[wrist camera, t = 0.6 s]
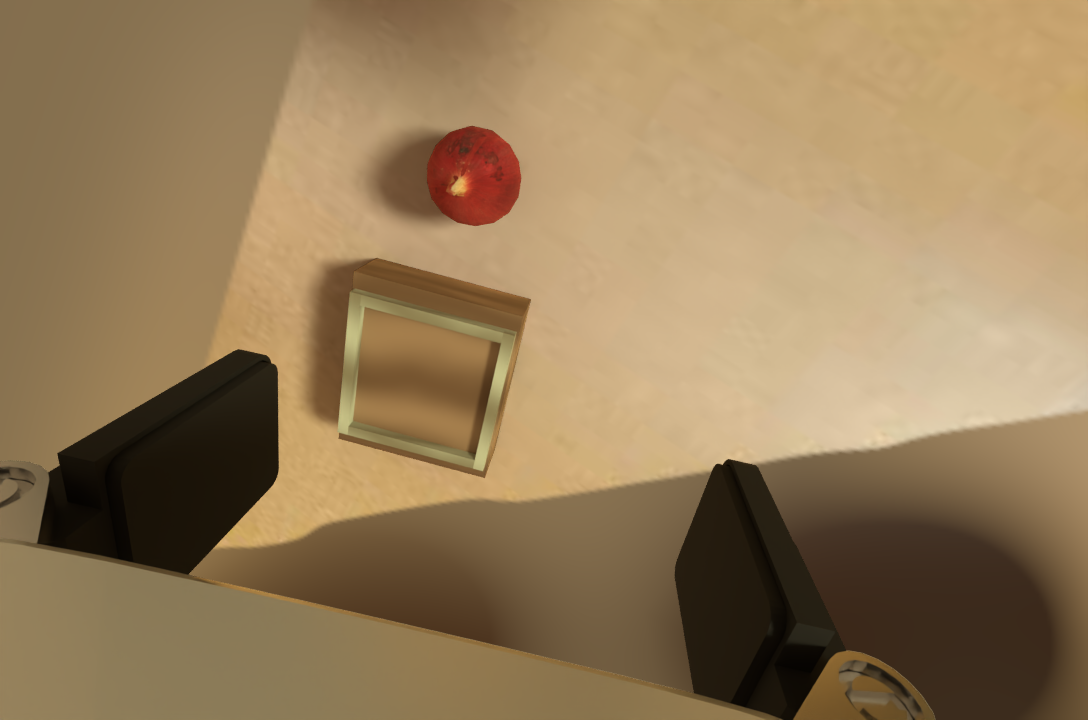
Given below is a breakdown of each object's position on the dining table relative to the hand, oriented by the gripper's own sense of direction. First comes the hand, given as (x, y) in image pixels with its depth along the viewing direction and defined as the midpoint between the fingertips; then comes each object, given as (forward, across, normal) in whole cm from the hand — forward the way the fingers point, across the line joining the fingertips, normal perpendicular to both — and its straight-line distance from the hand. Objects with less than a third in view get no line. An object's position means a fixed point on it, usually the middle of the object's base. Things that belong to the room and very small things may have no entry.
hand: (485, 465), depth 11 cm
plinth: (+29, +8, +12) cm, 32 cm away
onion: (+29, +6, -3) cm, 30 cm away
